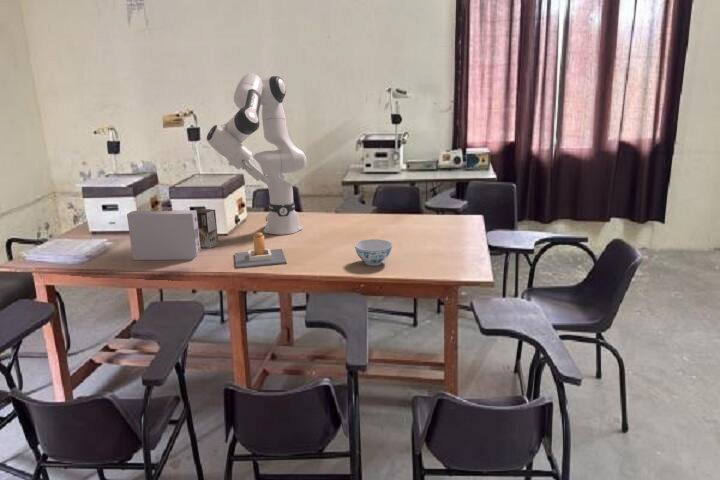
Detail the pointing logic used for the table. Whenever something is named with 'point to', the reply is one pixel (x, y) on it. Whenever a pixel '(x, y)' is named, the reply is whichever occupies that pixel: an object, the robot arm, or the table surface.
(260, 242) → the orange cylinder
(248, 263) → the holder
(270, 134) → the robot arm
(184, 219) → the game console
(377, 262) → the chinaware
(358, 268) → the table surface
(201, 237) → the coffee box
